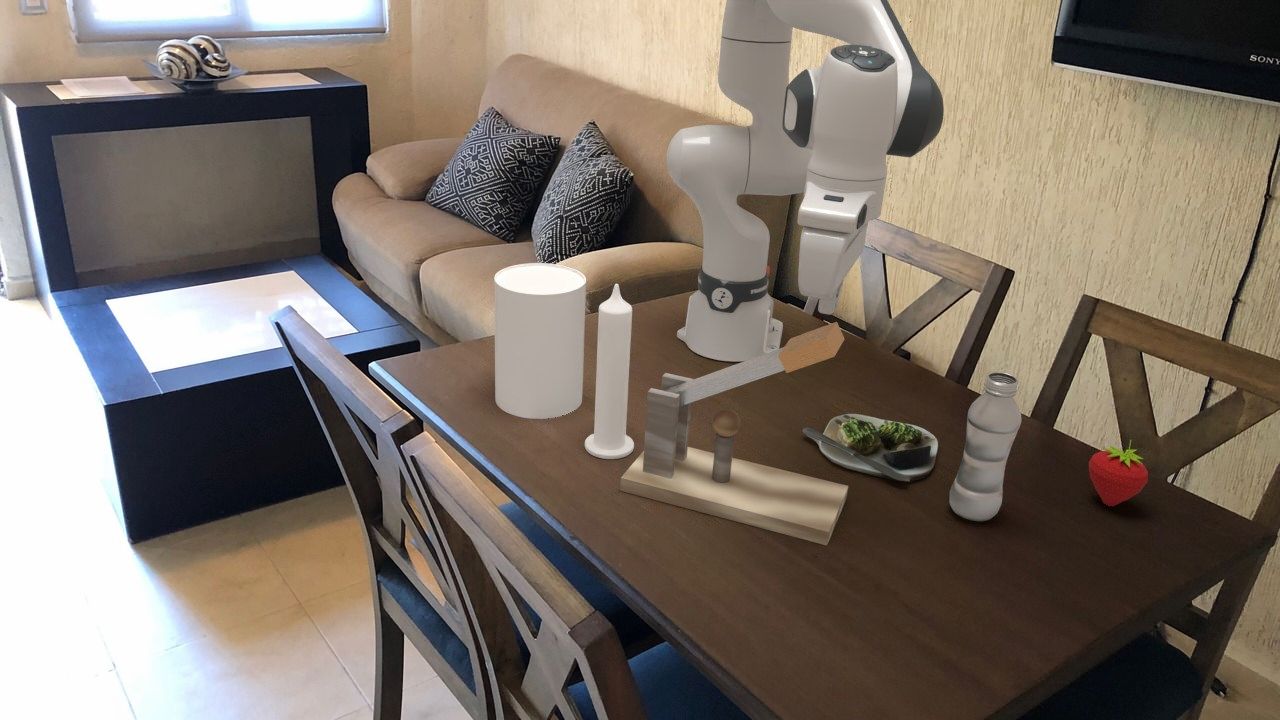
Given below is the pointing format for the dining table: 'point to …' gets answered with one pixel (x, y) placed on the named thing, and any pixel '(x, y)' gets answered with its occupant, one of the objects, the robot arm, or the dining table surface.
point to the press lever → (766, 364)
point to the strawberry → (1117, 475)
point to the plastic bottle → (986, 449)
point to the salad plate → (878, 446)
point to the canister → (539, 339)
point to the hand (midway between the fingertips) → (827, 310)
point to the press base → (726, 475)
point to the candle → (612, 380)
